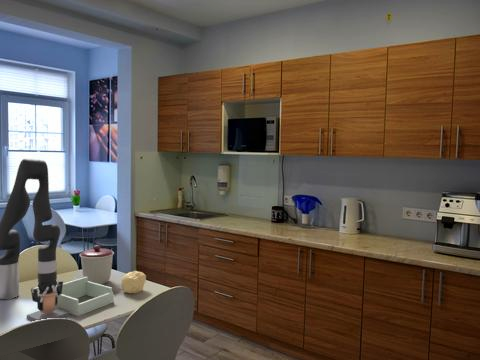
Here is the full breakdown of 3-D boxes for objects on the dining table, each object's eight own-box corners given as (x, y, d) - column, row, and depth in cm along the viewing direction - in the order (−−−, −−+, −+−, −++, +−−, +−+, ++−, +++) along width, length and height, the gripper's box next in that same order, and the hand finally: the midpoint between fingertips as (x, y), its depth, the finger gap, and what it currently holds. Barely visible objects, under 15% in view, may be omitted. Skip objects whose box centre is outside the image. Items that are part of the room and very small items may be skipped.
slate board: (26, 318, 175) (26, 315, 175) (51, 309, 185) (51, 306, 185) (43, 325, 169) (43, 321, 168) (68, 315, 179) (68, 312, 179)
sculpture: (137, 296, 203) (137, 275, 203) (116, 293, 207) (116, 273, 207) (149, 289, 214) (149, 269, 214) (129, 286, 218) (129, 267, 217)
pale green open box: (50, 306, 189) (50, 287, 188) (86, 293, 206) (86, 276, 205) (78, 315, 178) (78, 296, 178) (113, 302, 196) (113, 283, 195)
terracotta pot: (36, 311, 175) (36, 293, 175) (50, 306, 181) (49, 288, 180) (45, 314, 172) (45, 296, 172) (59, 309, 178) (58, 291, 177)
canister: (74, 281, 224) (74, 244, 223) (105, 275, 237) (105, 240, 235) (87, 290, 211) (87, 250, 210) (119, 283, 223) (119, 246, 222)
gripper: (56, 265, 183) (57, 300, 185) (26, 272, 171) (26, 311, 172) (67, 267, 180) (67, 304, 181) (36, 275, 167) (37, 315, 168)
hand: (47, 307), depth 176 cm, fingers closed on terracotta pot, 6 cm apart
